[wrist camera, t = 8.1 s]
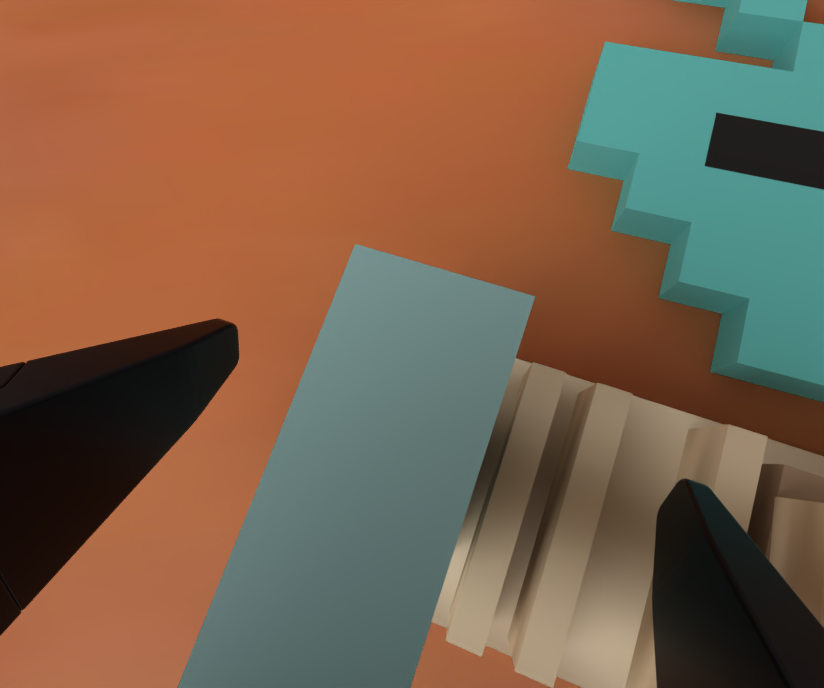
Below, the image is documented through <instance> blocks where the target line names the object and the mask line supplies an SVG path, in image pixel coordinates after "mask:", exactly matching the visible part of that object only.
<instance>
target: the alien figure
mask: <svg viewBox="0 0 824 688" xmlns="http://www.w3.org/2000/svg"><path fill="white" fill-rule="evenodd" d="M674 1H681V2H688V3H695V4H702V5H709V6H717V7H724V8H725V10H724V15H723V19H722V23H721V28H720V32H719V36H718V41H717V45H716V50H715V51H717V52H724V53H730V54H737V55H743V56H749V57H756V58H762V59H769V60H773V64H772V68H767V67H760V66H754V65H748V64H742V63H735V62H729V61H723V60H717V59H710V58H704V57H698V56H692V55H685V54H679V53H673V52H667V51H660V50H654V49H648V48H642V47H635V46H629V45H623V44H617V43H610V42H605V44H604V47H603V50H602V53H601V56H600V59H599V62H598V65H597V68H596V71H595V74H594V77H593V80H592V84H591V87H590V91H589V94H588V98H587V102H586V105H585V109H584V112H583V116H582V119H581V123H580V126H579V130H578V133H577V137H576V140H575V144H574V148H573V151H572V155H571V158H570V162H569V165H568V169H570V170H575V171H580V172H585V173H589V174H594V175H599V176H604V177H609V178H613V179H618V180H623V181H624V182H623V186H622V189H621V193H620V197H619V201H618V205H617V209H616V213H615V217H614V221H613V225H612V228H611V231H614V232H619V233H623V234H627V235H632V236H636V237H641V238H645V239H649V240H654V241H658V242H663V243H667V244H671V245H670V249H669V254H668V258H667V262H666V267H665V271H664V275H663V280H662V284H661V288H660V293H659V297H658V298H660V299H664V300H668V301H672V302H676V303H680V304H684V305H688V306H692V307H696V308H700V309H704V310H708V311H712V312H716V313H720V314H722V316H721V321H720V326H719V331H718V335H717V340H716V345H715V350H714V355H713V360H712V365H711V370H710V372H712V373H716V374H720V375H724V376H727V377H731V378H735V379H738V380H742V381H746V382H750V383H753V384H757V385H761V386H764V387H768V388H772V389H776V390H779V391H783V392H787V393H790V394H794V395H798V396H802V397H805V398H809V399H813V400H816V401H820V402H824V24H817V23H810V22H803V20H804V14H805V9H806V4H807V0H674Z"/></svg>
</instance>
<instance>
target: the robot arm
mask: <svg viewBox="0 0 824 688" xmlns="http://www.w3.org/2000/svg"><path fill="white" fill-rule="evenodd" d="M238 360H239V341H238V329H237V327H236V325H235V324H233V323H231V322H228V321H225V320H222V319H212V320H208V321H203V322H199V323H194V324H190V325H185V326H181V327H176V328H172V329H168V330H163V331H159V332H154V333H150V334H145V335H141V336H136V337H132V338H128V339H123V340H119V341H114V342H110V343H105V344H101V345H96V346H92V347H88V348H83V349H79V350H74V351H70V352H65V353H61V354H56V355H52V356H48V357H43V358H39V359H34V360H30V361H27V362H26V363H24V362H20V363H16V364H12V365H7V366H3V367H0V636H1V634H2V633H3V632H4V631H5V630H6V629H7V628H8V627H9V626H10V625H11V623H12V622H13V621H14V620H15V619H16V618H17V617H18V616H19V615H20V614H21V610H24V609H25V608H26V607H27V606H28V604H29V603H30V602H31V601H32V600H33V599H34V598H35V597H36V596H37V595H38V593H39V592H40V591H41V590H42V589H43V588H44V587H45V586H46V585H47V584H48V582H49V581H50V580H51V579H52V578H53V577H54V576H55V575H56V574H57V573H58V571H59V570H60V569H61V568H62V567H63V566H64V565H65V564H66V563H67V562H68V561H69V559H70V558H71V557H72V556H73V555H74V554H75V553H76V552H77V551H78V550H79V548H80V547H81V546H82V545H83V544H84V543H85V542H86V541H87V540H88V539H89V537H90V536H91V535H92V534H93V533H94V532H95V531H96V530H97V529H98V528H99V526H100V525H101V524H102V523H103V522H104V521H105V520H106V519H107V518H108V517H109V516H110V514H111V513H112V512H113V511H114V510H115V509H116V508H117V507H118V506H119V505H120V503H121V502H122V501H123V500H124V499H125V498H126V497H127V496H128V495H129V494H130V492H131V491H132V490H133V489H134V488H135V487H136V486H137V485H138V484H139V483H140V481H141V480H142V479H143V478H144V477H145V476H146V475H147V474H148V473H149V472H150V471H151V469H152V468H153V467H154V466H155V465H156V464H157V463H158V462H159V461H160V460H161V458H162V457H163V456H164V455H165V454H166V453H167V452H168V451H169V450H170V449H171V447H172V446H173V445H174V444H175V443H176V442H177V441H178V440H179V439H180V438H181V436H182V435H183V434H184V433H185V432H186V431H187V430H188V429H189V428H190V426H191V425H192V424H193V423H194V422H195V421H196V420H197V418H198V417H199V416H200V414H201V413H202V412H203V411H204V409H205V408H206V406H207V405H208V404H209V402H210V401H211V400H212V398H213V397H214V396H215V394H216V393H217V391H218V390H219V389H220V387H221V386H222V385H223V383H224V382H225V381H226V379H227V378H228V376H229V375H230V374H231V372H232V371H233V370H234V368H235V367H236V365H237V363H238ZM652 616H653V633H654V650H655V667H656V683H657V688H824V627H823V626H822V625H821V624H820V622H819V621H818V620H817V619H816V617H815V616H814V615H813V614H812V613H811V611H810V610H809V609H808V608H807V606H806V605H805V604H804V603H803V602H802V600H801V599H800V598H799V597H798V595H797V594H796V593H795V592H794V590H793V589H792V588H791V587H790V586H789V584H788V583H787V582H786V581H785V579H784V578H783V577H782V576H781V575H780V573H779V572H778V571H777V570H776V568H775V567H774V566H773V565H772V563H771V562H770V561H769V560H768V559H767V557H766V556H765V555H764V554H763V552H762V551H761V550H760V549H759V548H758V546H757V545H756V544H755V543H754V541H753V540H752V539H751V538H750V537H749V535H748V534H747V533H746V532H745V530H744V529H743V528H742V527H741V525H740V524H739V523H738V522H737V521H736V519H735V518H734V517H733V516H732V514H731V513H730V512H729V511H728V510H727V508H726V507H725V506H724V505H723V503H722V502H721V501H720V500H719V498H718V497H717V496H716V495H715V494H714V492H713V491H712V490H711V489H710V488H709V487H708V486H707V485H704V484H702V483H699V482H696V481H693V480H690V479H687V478H683V479H681V480H679V481H678V482H677V483H676V485H675V486H674V487H673V489H672V490H671V492H670V493H669V494H668V496H667V497H666V499H665V500H664V501H663V503H662V504H661V506H660V508H659V510H658V513H657V519H656V534H655V550H654V566H653V582H652Z"/></svg>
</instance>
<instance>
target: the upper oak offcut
mask: <svg viewBox="0 0 824 688" xmlns="http://www.w3.org/2000/svg"><path fill="white" fill-rule="evenodd" d="M769 561H770V562H771V563H772V565H773V566H774V567H775V568H776V570H777V571H778V572H779V573H780V575H781V576H782V577H783V578H784V579H785V581H786V582H787V583H788V584H789V586H790V587H791V588H792V589H793V590H794V592H795V593H796V594H797V595H798V597H799V598H800V599H801V600H802V602H803V603H804V604H805V605H806V606H807V608H808V609H809V610H810V611H811V613H812V614H813V615H814V616H815V617H816V619H817V620H818V621H819V622H820V624H821V625H822V626H823V627H824V503H819V502H812V501H805V500H797V499H790V498H782V497H775V502H774V513H773V524H772V536H771V547H770V558H769Z"/></svg>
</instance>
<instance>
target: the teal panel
mask: <svg viewBox="0 0 824 688" xmlns="http://www.w3.org/2000/svg"><path fill="white" fill-rule="evenodd" d="M534 299H535V296H532V295H529V294H526V293H522V292H519V291H515V290H512V289H508V288H505V287H501V286H498V285H495V284H491V283H488V282H484V281H481V280H477V279H474V278H471V277H467V276H464V275H460V274H457V273H453V272H450V271H447V270H443V269H440V268H436V267H433V266H429V265H426V264H422V263H419V262H416V261H412V260H409V259H405V258H402V257H398V256H395V255H392V254H388V253H385V252H381V251H378V250H374V249H371V248H368V247H364V246H361V245H357V244H355V246H354V248H353V251H352V253H351V256H350V258H349V261H348V263H347V266H346V268H345V271H344V273H343V276H342V278H341V281H340V283H339V286H338V288H337V291H336V293H335V296H334V298H333V301H332V303H331V306H330V308H329V311H328V313H327V316H326V318H325V321H324V323H323V326H322V328H321V331H320V333H319V336H318V338H317V341H316V343H315V346H314V348H313V351H312V353H311V356H310V358H309V361H308V363H307V366H306V368H305V371H304V373H303V376H302V378H301V381H300V383H299V386H298V388H297V391H296V393H295V395H294V398H293V400H292V403H291V405H290V408H289V410H288V413H287V415H286V418H285V420H284V423H283V425H282V428H281V430H280V433H279V435H278V438H277V440H276V443H275V445H274V448H273V450H272V453H271V455H270V458H269V460H268V463H267V465H266V468H265V470H264V473H263V475H262V478H261V480H260V483H259V485H258V488H257V490H256V493H255V495H254V498H253V500H252V503H251V505H250V508H249V510H248V513H247V515H246V518H245V520H244V523H243V525H242V528H241V530H240V533H239V535H238V538H237V540H236V543H235V545H234V548H233V550H232V553H231V555H230V558H229V560H228V563H227V565H226V568H225V570H224V573H223V575H222V578H221V580H220V583H219V585H218V588H217V590H216V593H215V595H214V598H213V600H212V602H211V605H210V607H209V610H208V612H207V615H206V617H205V620H204V622H203V625H202V627H201V630H200V632H199V635H198V637H197V640H196V642H195V645H194V647H193V650H192V652H191V655H190V657H189V660H188V662H187V665H186V667H185V670H184V672H183V675H182V677H181V680H180V682H179V685H178V687H177V688H410V687H411V684H412V681H413V678H414V674H415V671H416V668H417V665H418V662H419V659H420V656H421V652H422V649H423V646H424V643H425V640H426V637H427V634H428V631H429V627H430V624H431V621H432V618H433V615H434V612H435V609H436V606H437V602H438V599H439V596H440V593H441V590H442V587H443V584H444V581H445V577H446V574H447V571H448V568H449V565H450V562H451V559H452V555H453V552H454V549H455V546H456V543H457V540H458V537H459V534H460V530H461V527H462V524H463V521H464V518H465V515H466V512H467V509H468V505H469V502H470V499H471V496H472V493H473V490H474V487H475V483H476V480H477V477H478V474H479V471H480V468H481V465H482V462H483V458H484V455H485V452H486V449H487V446H488V443H489V440H490V437H491V433H492V430H493V427H494V424H495V421H496V418H497V415H498V411H499V408H500V405H501V402H502V399H503V396H504V393H505V390H506V386H507V383H508V380H509V377H510V374H511V371H512V368H513V365H514V361H515V358H516V355H517V352H518V349H519V346H520V343H521V340H522V336H523V333H524V330H525V327H526V324H527V321H528V318H529V314H530V311H531V308H532V305H533V302H534Z"/></svg>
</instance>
